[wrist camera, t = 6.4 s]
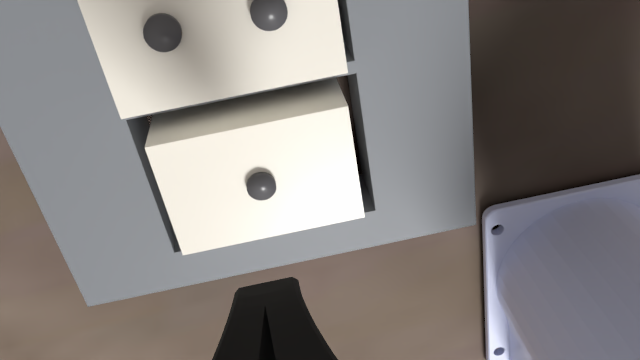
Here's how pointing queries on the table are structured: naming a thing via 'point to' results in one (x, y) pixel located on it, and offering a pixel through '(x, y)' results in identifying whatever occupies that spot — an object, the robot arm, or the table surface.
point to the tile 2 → (256, 165)
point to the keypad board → (131, 133)
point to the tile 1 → (210, 48)
